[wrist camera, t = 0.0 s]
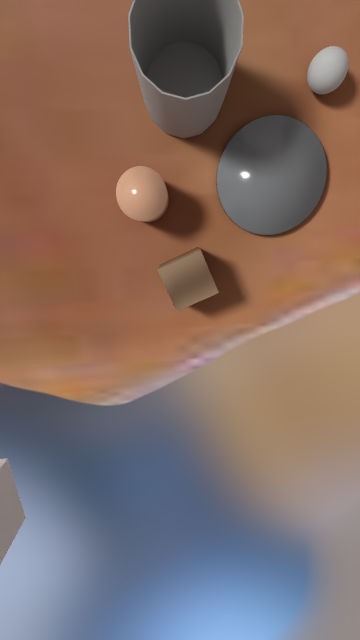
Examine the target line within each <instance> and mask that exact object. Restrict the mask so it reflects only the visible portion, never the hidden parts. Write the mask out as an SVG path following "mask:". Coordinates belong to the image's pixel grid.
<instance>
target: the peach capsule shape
mask: <svg viewBox="0 0 360 640" xmlns="http://www.w3.org/2000/svg"><path fill="white" fill-rule="evenodd" d="M116 197H117V201H118V204H119V206H120V208H121V210H122V211H123V212H124V213H125V214H126V215H127V216H128V217H130V218H132V219H134V220H138V221H142V222H153V221H156V220H158V219H159V218H161V217H162V216H163V215H164V213H165V212H166V210H167V207H168V202H169V197H168V192H167V189H166V185H165V183H164V181H163V179H162V178H161V176H160V175H159V174H158V173H157V172H156V171H154V170H153V169H151V168H148V167H144V166H137V167H133V168H130V169H129V170H127V171H126V172H125V173H124V174H123V175H122V176H121V177H120V179H119V181H118V184H117V188H116Z"/></svg>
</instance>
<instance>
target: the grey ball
mask: <svg viewBox="0 0 360 640" xmlns="http://www.w3.org/2000/svg"><path fill="white" fill-rule="evenodd" d="M347 71H348V57H347V54H346V53H345V51H344V50H343V49H342V48H340V47H337V46H331V47H327V48H325V49H323V50H322V51H320V52H319V53H318V54H317V55H316V56H315V57H314V59H313V60H312V62H311V64H310V66H309V69H308V74H307V81H308V85H309V87H310V89H311V90H312V91H313V92H315V93H317V94H327V93H330V92H332V91H334V90H335V89H336V88H338V86H339V85H340V84H341V83H342V82H343V80H344V78H345V76H346V74H347Z"/></svg>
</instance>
